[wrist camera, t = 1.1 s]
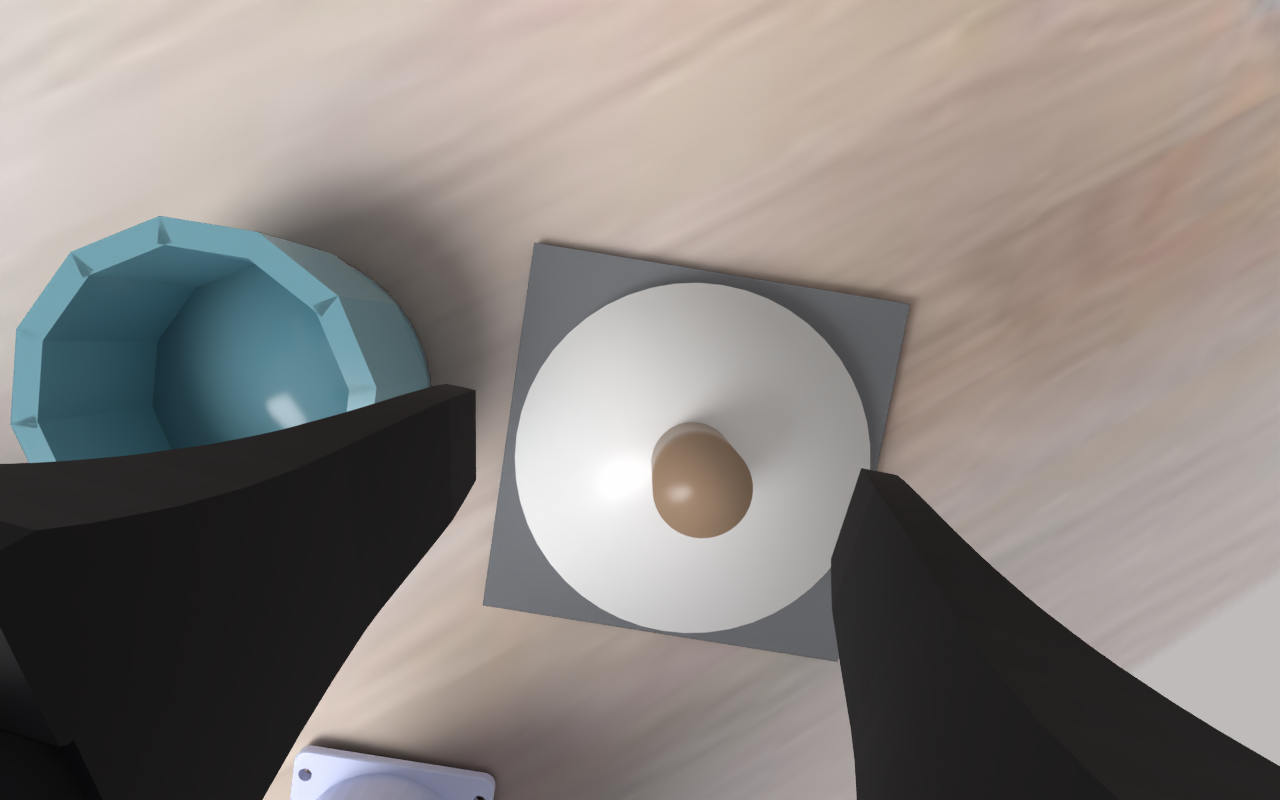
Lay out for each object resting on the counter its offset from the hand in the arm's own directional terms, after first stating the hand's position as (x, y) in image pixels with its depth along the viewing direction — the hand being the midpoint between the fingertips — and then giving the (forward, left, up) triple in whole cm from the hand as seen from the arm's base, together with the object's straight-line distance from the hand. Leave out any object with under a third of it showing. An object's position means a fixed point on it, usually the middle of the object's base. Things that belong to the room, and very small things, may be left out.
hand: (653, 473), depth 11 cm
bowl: (-2, +14, -12) cm, 18 cm away
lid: (-2, -2, -11) cm, 12 cm away
